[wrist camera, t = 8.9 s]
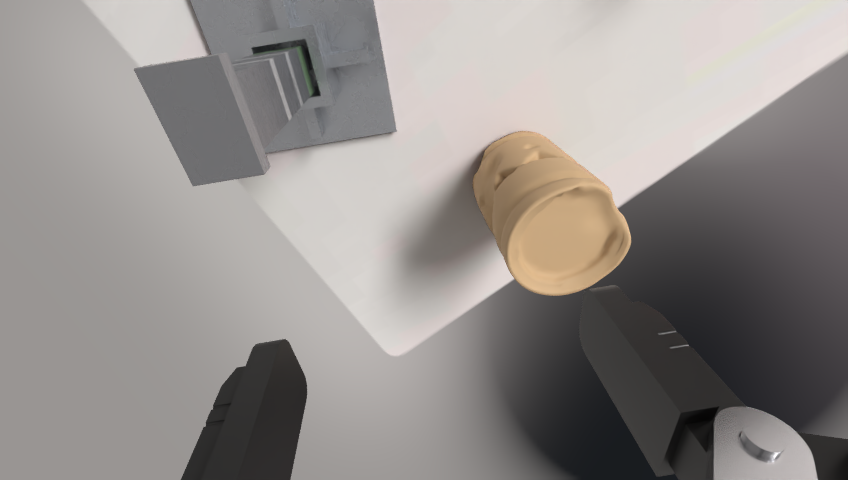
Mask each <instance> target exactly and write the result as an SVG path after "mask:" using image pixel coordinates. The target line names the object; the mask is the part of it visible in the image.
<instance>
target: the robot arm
mask: <svg viewBox="0 0 848 480" xmlns="http://www.w3.org/2000/svg"><path fill="white" fill-rule="evenodd" d="M579 335H580V341H581V345H582V348H583V350H584V352H585V354H586V356H587V358H588V359H589V361H590V363H591V364H592V366H593V368H594V370H595V371H596V373H597V375H598V376H599V378H600V380H601V382H602V383H603V385H604V387H605V388H606V390H607V392H608V394H609V395H610V397H611V399H612V400H613V402H614V404H615V406H616V407H617V409H618V411H619V413H620V414H621V416H622V418H623V419H624V421H625V423H626V425H627V426H628V428H629V430H630V431H631V433H632V435H633V436H634V438H635V440H636V442H637V443H638V445H639V447H640V449H641V450H642V452H643V454H644V455H645V457H646V459H647V460H648V462H649V464H650V466H651V467H652V469H653V471H654V472H655V474H656V476H657V477H659V476H665V475H670V474H676V476H677V478H678V479H679V480H848V439H842V438H834V437H826V436H819V435H813V434H805V433H800V432H795V431H794V430H793V429H792V428H791V427H789V426H788V425H787V424H785V423H784V422H783V421H781V420H779V419H777V418H776V417H774V416H772V415H770V414H768V413H765V412H762V411H760V410H756V409H753V408H748V407H746V406H745V405H744V404H743V403H742V402H741V401H740V400H739V399H738V398H737V397H736V395H735V394H734V393H733V392H732V391H731V390H730V389H729V388H728V387H727V386H726V384H725V383H724V382H723V381H722V380H721V379H720V378H719V377H718V376H717V375H716V373H715V372H714V371H713V370H712V369H711V368H710V367H709V366H708V365H707V364H706V362H704V360H703V359H702V358H701V357H700V356H699V355H698V354H697V353H696V351H695V350H694V349H693V348H692V347H689V346H688V343H687V342H686V340H685V339H684V338H683V337H682V336H681V335H680V334H679V333H676V329H675V328H674V327H673V326H672V325H671V324H670V323H669V322H668V321H667V320H666V319H665V317H664V316H663V315H662V314H660V313H659V312H658V311H656V310H654V309H653V308H651V307H649V306H647V305H646V304H644V303H643V302H641V301H639V302H633V303H632V302H631V301H630V300H629V299H628V297H627V296H626V295H625V294H624V293H623V291H622V290H621V289H620V288H619V287H617V286H615V285H612V286H607V287H600V288H594V289H588V290H585V292H584V294H583V302H582V310H581V319H580V328H579ZM306 399H307V383H306V378H305V375H304V373H303V371H302V369H301V367H300V365H299V362H298V360H297V358H296V356H295V354H294V352H293V350H292V348H291V345H290V343H289V342H288V341H287V340H286V339H283V340H277V341H271V342H265V343H259V344H256V345H255V346H254V347H253V349H252V351H251V354H250V356H249V359H248V361H247V364H246V366H244V367H238V368H236V369H235V371H234V372H233V373H232V374H231V375H230V377H229V378H228V379H227V380H226V381H225V383H224V384H223V385H222V387H221V389H220V391H219V393H218V396H217V398H216V400H215V403H214V405H213V410H211V412H210V414H209V416H208V419H207V421H206V427H204V428H203V430H202V432H201V435H200V437H199V439H198V442H197V444H196V446H195V448H194V451H193V453H192V455H191V458H190V460H189V462H188V465H187V467H186V469H185V472H184V474H183V476H182V479H181V480H290V478H291V474H292V469H293V464H294V459H295V454H296V449H297V443H298V439H299V434H300V429H301V424H302V419H303V414H304V409H305V404H306Z"/></svg>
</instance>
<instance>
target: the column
mask: <svg viewBox="0 0 848 480" xmlns="http://www.w3.org/2000/svg"><path fill="white" fill-rule="evenodd" d="M134 71H135V73H136V74H137V77H138V79H139V80H140V83H141V85H142V87H143V89H144V90H145V92H146V94H147V96H148V98H149V100H150V102H151V104H152V106H153V108H154V110H155V112H156V114H157V116H158V118H159V120H160V122H161V124H162V126H163V128H164V130H165V132H166V134H167V136H168V138H169V140H170V142H171V144H172V146H173V148H174V150H175V151H176V154H177V155H178V158H179V159H180V162H181V164H182V165H183V167H184V169H185V171H186V173H187V175H188V177H189V179H190V181H191V183H192V185H193V186H197V185H203V184H209V183H215V182H221V181H227V180H233V179H239V178H245V177H251V176H257V175H263V174H265V173H266V172H267V170H268V169H269V168H270V165H269V162H268V159H267V157H266V154H265V151H264V149H265V148H266V147H267V146H268V145H269V144H270V142H271V141H272V140H273V139H274V138H275V137H276V135H277V134H278V133H279V132H280V131H281V130H282V129H283V127H284V126H285V125H286V124H287V123H288V122H289V120H290V119H291V118H292V117H293V116H294V115H295V113H296V112H297V111H298V110H299V109H300V108H301V107H302V105H303V104H304V103H305V102H306V101H307V100H308V98H309V97H310V96H311V95H312V94H313V93H314V92H315V87H314V83H313V80H312V76H311V73H310V69H309V65H308V62H307V58H306V55H305V51H304V47H303V45H301V46H295V47H289V48H283V49H277V50H271V51H265V52H259V53H256V54H254V55H251V56H248V57H245V58H242V59H239V60H236V61H233V62H231V61H230V58H229V56H228V53H227V52H226V53H220V54H214V55H208V56H202V57H196V58H190V59H184V60H178V61H172V62H166V63H160V64H154V65H148V66H143V67H139V68H135V69H134Z"/></svg>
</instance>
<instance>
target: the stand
mask: <svg viewBox="0 0 848 480" xmlns="http://www.w3.org/2000/svg"><path fill="white" fill-rule="evenodd" d="M190 1H191V4H192V6H193V9H194V11H195V14H196V16H197V19H198V21H199V24H200V26H201V29H202V31H203V34H204V36H205V39H206V41H207V44H208V46H209V49H210V52H211V54H212V55H214V54H220V53H226V52H227V53H228V56H229V58H230V61H231V62H233V61H236V60H239V59H242V58H245V57H248V56H251V55H254V54H256V53H259V52H265V51H271V50H277V49H283V48H289V47H295V46H301V45H303V47H304V51H305V55H306V58H307V62H308V65H309V69H310V73H311V76H312V80H313V83H314V87H315V92H314V93H313V94H312V95H311V96H310V97H309V98H308V100H307V101H306V102H305V103H304V104H303V105H302V107H301V108H300V109H299V110H298V111H297V112H296V113H295V115H294V116H293V117H292V118H291V119H290V120H289V122H288V123H287V124H286V125H285V126H284V127H283V129H282V130H281V131H280V132H279V133H278V134H277V135H276V137H275V138H274V139H273V140H272V141H271V142H270V144H269V145H268V146H267V147H266V148H265V149H264V151H265V153H269V152H275V151H281V150H287V149H293V148H299V147H305V146H311V145H317V144H323V143H329V142H335V141H341V140H347V139H353V138H359V137H365V136H372V135H378V134H384V133H390V132H396V131H397V130H396V124H395V119H394V113H393V107H392V102H391V96H390V91H389V85H388V79H387V74H386V68H385V63H384V57H383V51H382V46H381V40H380V35H379V29H378V23H377V18H376V12H375V6H374V1H373V0H190Z"/></svg>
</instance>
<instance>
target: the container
mask: <svg viewBox="0 0 848 480" xmlns="http://www.w3.org/2000/svg"><path fill="white" fill-rule="evenodd" d="M473 190H474V193H475V198H476V201H477V204H478V206H479V208H480V210H481V213H482V215H483V217H484V219H485V221H486V223H487V225H488V226H489V228H490V230H491V232H492V233H493V235H494V236H495V239H496V242H497V245H498V247H499V250H500V251H501V253H502V255H503V257H504V260H505V262H506V265H507V267H508V269H509V271H510V273H511V274H512V276H513V277H514V278H515V280H516V281H517V282H518V283H519V284H520V285H521V286H523V287H524V288H526V289H528V290H530V291H532V292H535V293H538V294H543V295H552V296H553V295H554V296H558V295H567V294H571V293H574V292H578V291H581V290H583V289H585V288H587V287H589V286H591V285H593V284H595V283H596V282H597V281H599V280H600V279H602V278H603V277H604V276H605V275H607V274H608V273H610V272H611V271H612V270H613V269H614V268H615V267H617V266H618V265H619V264H620V262H621V261H622V260H623V258H624V257H625V255H626V254H627V251H628V250H629V247H630V244H631V235H630V232H629V228H628V225H627V223H626V220H625V218H624V216H623V215H622V214H621V213H620V212H619V211H618V209H617V207H616V206H615V204H614V201H613V198H612V193H611V191H610V189H609V188H608V186H606V185H605V184H604V183H603V182H602V181H600V180H599V179H598V178H597V177H595V176H594V175H593V174H592V173H590V172H589V171H588V170H587V169H585V168H584V167H583V166H581V165H580V164H578V163H577V162H576V161H575V160H574V159H573V158H571V157H570V156H569V155H567V154H566V153H565V152H564V151H562V150H561V149H560V148H559V147H557V146H556V145H555V144H554V143H552V142H551V141H550V140H549V139H547V138H546V137H544V136H542V135H540V134H538V133H535V132H529V131H520V132H515V133H512V134H510V135H507V136H505V137H503V138H502V139H500V140H498V141H495V142H494V143H492V144H491V145H490V146H489V147H488V148H487V149H486V150H485V152H484V155H483V158H482V161H481V165H480V167H479V169H478V172H477V173H475V175H474V178H473Z"/></svg>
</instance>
